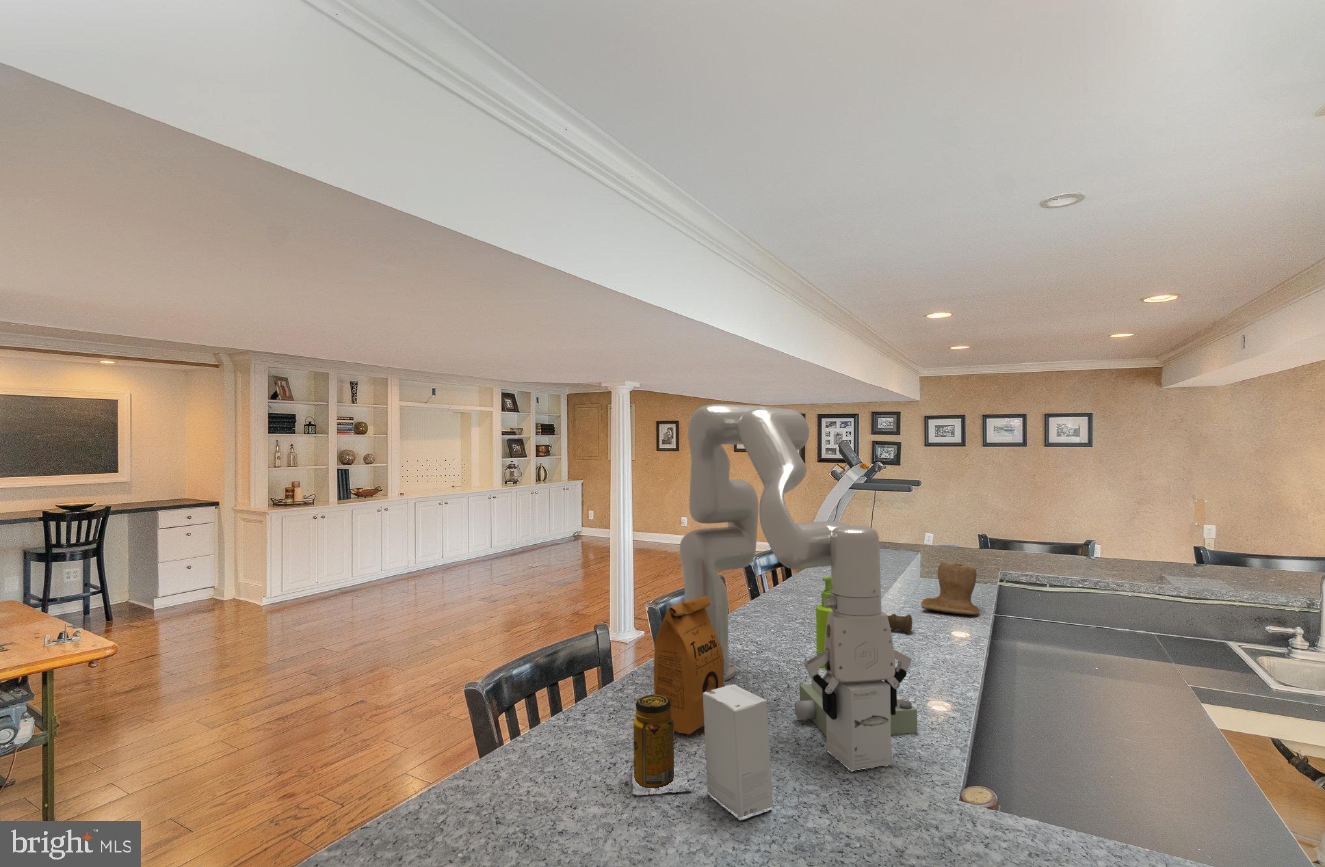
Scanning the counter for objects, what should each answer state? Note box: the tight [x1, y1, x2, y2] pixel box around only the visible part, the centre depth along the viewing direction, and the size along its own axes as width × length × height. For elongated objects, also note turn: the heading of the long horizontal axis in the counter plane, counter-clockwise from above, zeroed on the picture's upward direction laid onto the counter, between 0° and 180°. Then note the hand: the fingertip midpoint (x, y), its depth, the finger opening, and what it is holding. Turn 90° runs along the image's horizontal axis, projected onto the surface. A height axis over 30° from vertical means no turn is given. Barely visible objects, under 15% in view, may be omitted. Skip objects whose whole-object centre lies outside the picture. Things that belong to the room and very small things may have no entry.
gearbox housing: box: [794, 677, 918, 736], centre depth 113 cm, size 19×14×6 cm
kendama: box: [887, 613, 913, 635], centre depth 170 cm, size 6×10×20 cm
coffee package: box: [653, 596, 725, 735], centre depth 112 cm, size 10×12×22 cm
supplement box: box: [826, 680, 892, 770], centre depth 98 cm, size 7×7×13 cm
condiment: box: [632, 694, 675, 788], centre depth 92 cm, size 7×8×12 cm
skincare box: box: [703, 683, 774, 817], centre depth 87 cm, size 8×6×15 cm
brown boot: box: [920, 560, 980, 615], centre depth 186 cm, size 15×12×15 cm
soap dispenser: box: [815, 575, 832, 669], centre depth 141 cm, size 6×7×20 cm
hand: (860, 714), depth 98 cm, fingers open, 9 cm apart
